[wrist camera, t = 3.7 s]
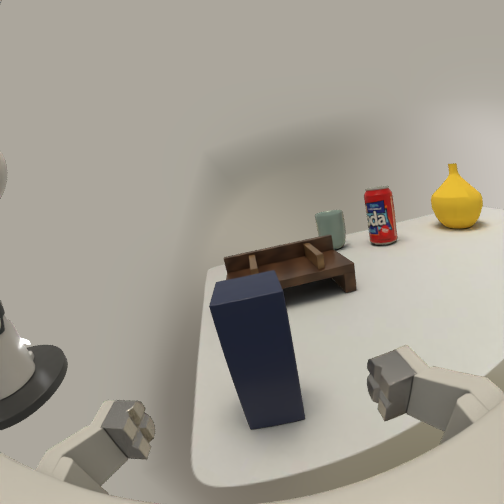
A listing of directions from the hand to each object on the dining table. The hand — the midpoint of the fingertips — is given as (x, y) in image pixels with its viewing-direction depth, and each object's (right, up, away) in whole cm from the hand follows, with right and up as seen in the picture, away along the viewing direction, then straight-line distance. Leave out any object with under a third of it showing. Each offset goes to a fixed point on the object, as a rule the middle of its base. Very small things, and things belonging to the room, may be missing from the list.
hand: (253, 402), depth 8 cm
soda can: (+36, +7, +59) cm, 70 cm away
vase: (+64, +13, +57) cm, 87 cm away
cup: (+23, +6, +65) cm, 69 cm away
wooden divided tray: (+7, -3, +42) cm, 43 cm away
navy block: (+2, -10, +15) cm, 18 cm away
